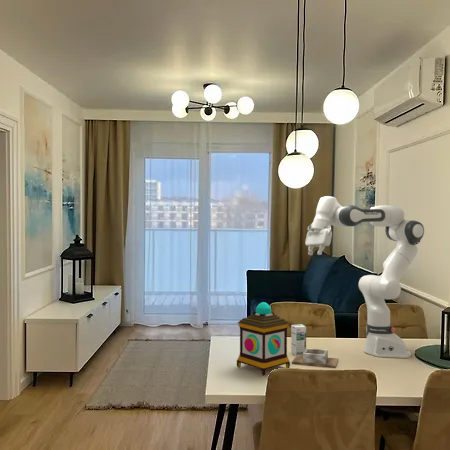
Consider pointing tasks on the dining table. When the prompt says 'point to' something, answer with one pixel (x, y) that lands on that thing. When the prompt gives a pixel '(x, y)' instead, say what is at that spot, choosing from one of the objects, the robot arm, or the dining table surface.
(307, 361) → the collar base
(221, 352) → the dining table surface
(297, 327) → the syrup box
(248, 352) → the decorative lantern
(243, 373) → the dining table surface
